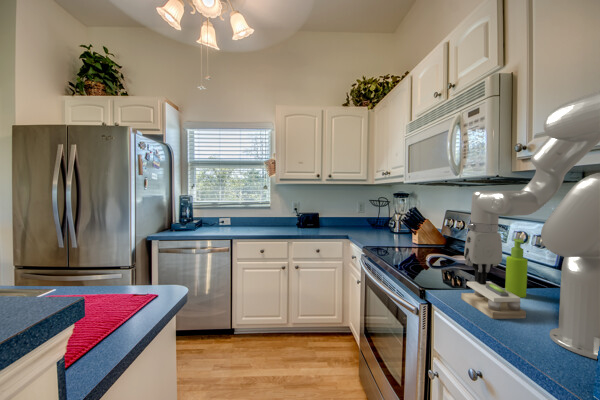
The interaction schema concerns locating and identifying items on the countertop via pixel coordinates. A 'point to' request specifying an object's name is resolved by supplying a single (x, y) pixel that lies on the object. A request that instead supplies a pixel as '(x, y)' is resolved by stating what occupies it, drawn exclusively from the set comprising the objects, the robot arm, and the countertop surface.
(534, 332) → the countertop surface
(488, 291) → the white rectangular slab
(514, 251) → the soap dispenser
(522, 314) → the level base
